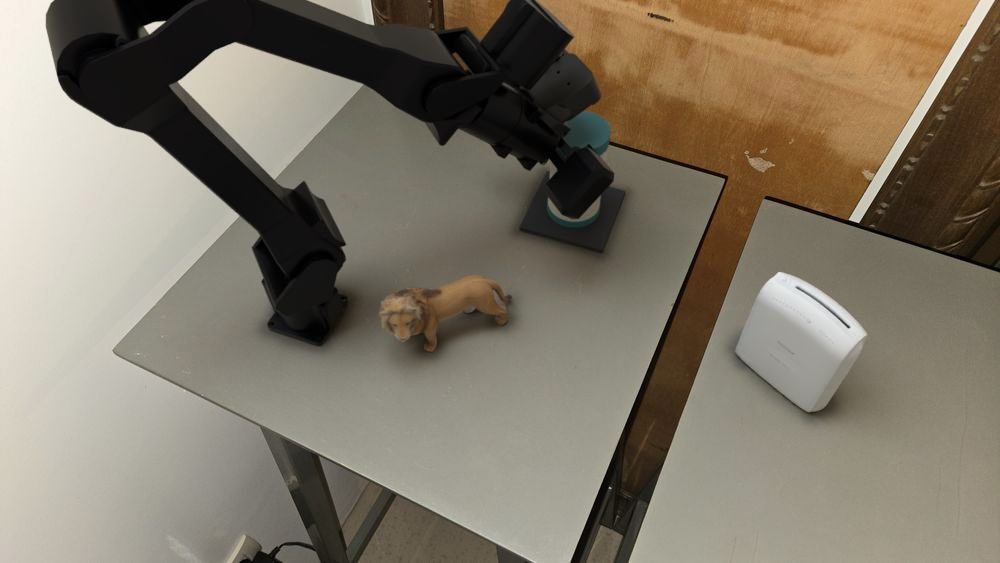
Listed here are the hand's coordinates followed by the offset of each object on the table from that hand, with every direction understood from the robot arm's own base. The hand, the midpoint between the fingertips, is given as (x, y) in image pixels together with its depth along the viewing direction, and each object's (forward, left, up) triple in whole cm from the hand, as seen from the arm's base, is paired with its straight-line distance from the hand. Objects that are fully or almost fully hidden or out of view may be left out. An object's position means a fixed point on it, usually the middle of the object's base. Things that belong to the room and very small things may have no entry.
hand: (587, 163), depth 84 cm
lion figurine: (-8, -22, -7) cm, 24 cm away
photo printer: (+25, -15, -7) cm, 30 cm away
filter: (-1, -1, -7) cm, 7 cm away
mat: (-1, -1, -7) cm, 7 cm away
